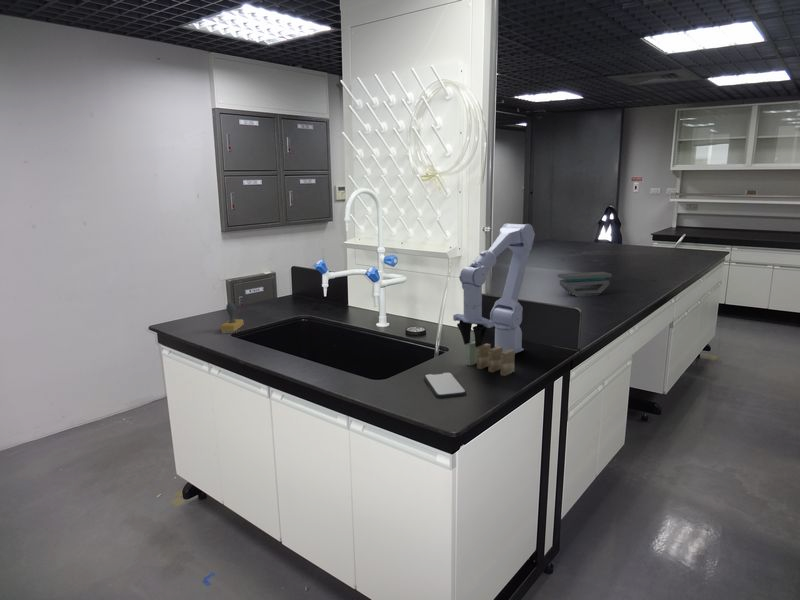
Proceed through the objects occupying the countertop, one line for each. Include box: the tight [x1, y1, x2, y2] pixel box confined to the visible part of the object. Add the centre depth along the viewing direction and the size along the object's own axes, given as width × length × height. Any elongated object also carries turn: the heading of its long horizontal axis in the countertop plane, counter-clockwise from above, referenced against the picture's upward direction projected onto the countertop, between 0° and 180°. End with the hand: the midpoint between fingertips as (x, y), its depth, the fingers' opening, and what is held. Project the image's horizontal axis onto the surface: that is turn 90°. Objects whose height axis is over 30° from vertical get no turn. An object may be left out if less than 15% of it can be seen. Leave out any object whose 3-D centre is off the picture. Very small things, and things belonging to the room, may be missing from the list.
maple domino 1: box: [476, 343, 492, 370], centre depth 166 cm, size 2×5×7 cm, turn 134°
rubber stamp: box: [220, 302, 245, 332], centre depth 217 cm, size 10×6×12 cm, turn 175°
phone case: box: [423, 372, 467, 399], centre depth 151 cm, size 9×2×16 cm
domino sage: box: [465, 340, 477, 367], centre depth 169 cm, size 2×5×7 cm, turn 132°
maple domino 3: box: [500, 349, 516, 377], centre depth 160 cm, size 2×5×7 cm, turn 134°
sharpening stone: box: [557, 271, 613, 294], centre depth 267 cm, size 25×8×11 cm, turn 98°
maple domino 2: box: [487, 346, 502, 373], centre depth 163 cm, size 2×5×7 cm, turn 134°
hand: (472, 345), depth 169 cm, fingers open, 4 cm apart
